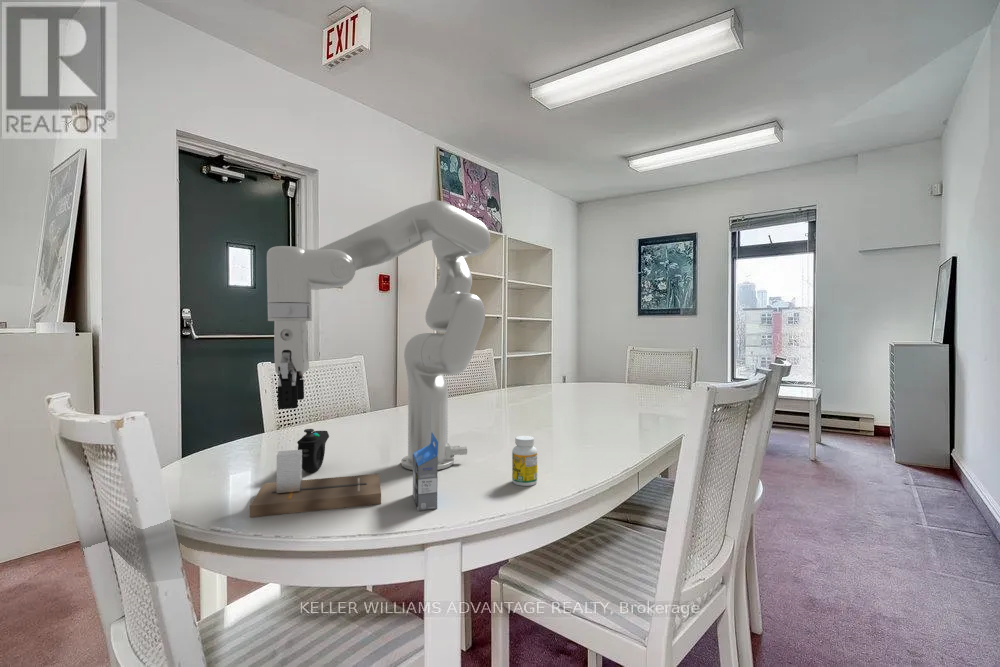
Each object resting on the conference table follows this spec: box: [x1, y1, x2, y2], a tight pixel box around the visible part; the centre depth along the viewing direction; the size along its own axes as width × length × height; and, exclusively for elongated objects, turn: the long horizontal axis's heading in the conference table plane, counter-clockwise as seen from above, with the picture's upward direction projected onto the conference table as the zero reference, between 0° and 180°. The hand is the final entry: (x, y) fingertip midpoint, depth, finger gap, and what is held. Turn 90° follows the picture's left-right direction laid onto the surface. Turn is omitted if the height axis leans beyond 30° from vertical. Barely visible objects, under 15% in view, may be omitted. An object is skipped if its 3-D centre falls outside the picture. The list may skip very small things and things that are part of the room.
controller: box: [296, 428, 330, 472], centre depth 107 cm, size 4×12×10 cm, turn 5°
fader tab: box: [276, 449, 303, 493], centre depth 87 cm, size 4×3×7 cm
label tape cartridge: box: [412, 432, 439, 512], centre depth 87 cm, size 9×4×12 cm, turn 17°
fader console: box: [249, 473, 382, 518], centre depth 89 cm, size 22×12×2 cm, turn 107°
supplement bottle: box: [511, 435, 538, 487], centre depth 99 cm, size 5×5×10 cm
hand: (291, 403), depth 87 cm, fingers open, 9 cm apart
